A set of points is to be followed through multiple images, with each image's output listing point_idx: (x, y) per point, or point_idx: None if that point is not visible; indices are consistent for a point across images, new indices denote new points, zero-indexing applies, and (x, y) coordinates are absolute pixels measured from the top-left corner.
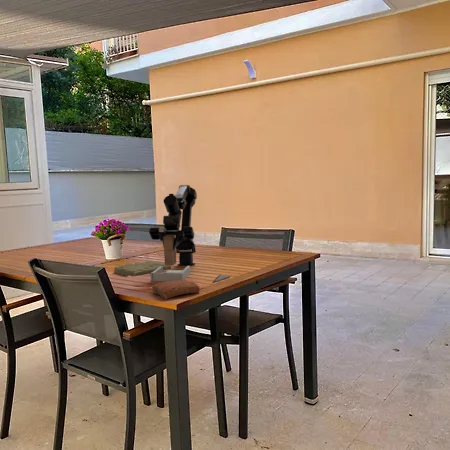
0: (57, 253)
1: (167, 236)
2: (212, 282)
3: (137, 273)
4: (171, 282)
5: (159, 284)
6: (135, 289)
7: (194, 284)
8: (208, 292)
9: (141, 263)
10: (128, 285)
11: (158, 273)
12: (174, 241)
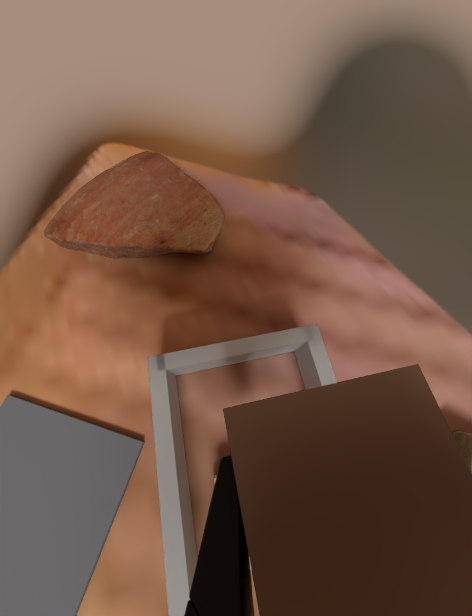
0: None
1: (390, 494)
2: (12, 395)
3: (467, 448)
4: (139, 192)
5: (182, 184)
6: (301, 245)
7: (54, 221)
8: (22, 249)
9: None
10: (366, 289)
11: (277, 333)
12: (235, 576)
